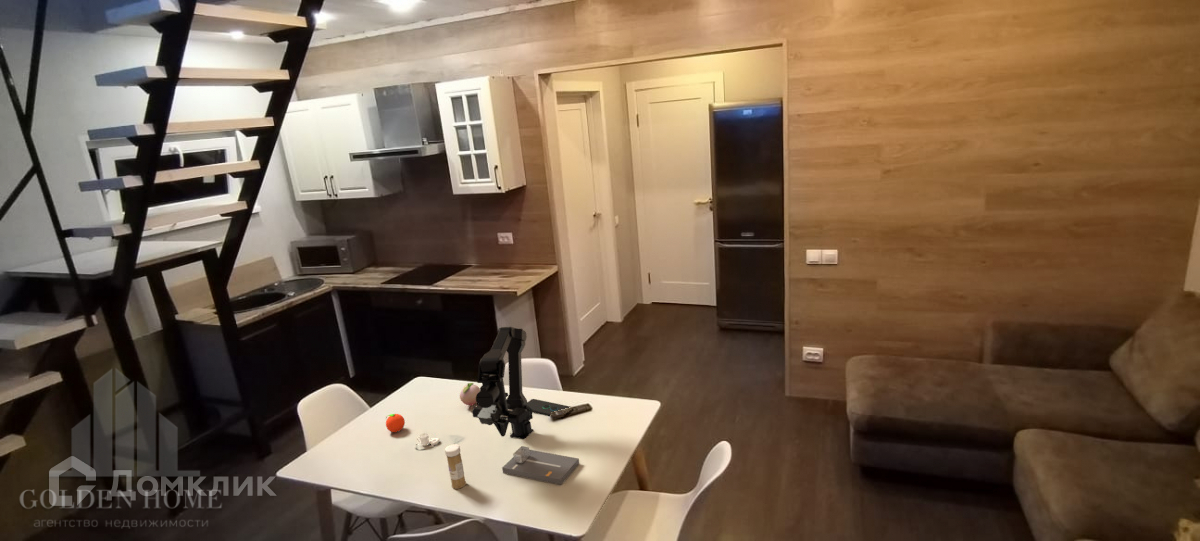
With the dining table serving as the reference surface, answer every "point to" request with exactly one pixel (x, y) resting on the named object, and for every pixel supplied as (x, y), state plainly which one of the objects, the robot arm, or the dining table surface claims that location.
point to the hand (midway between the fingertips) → (503, 435)
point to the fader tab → (521, 454)
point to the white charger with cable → (427, 440)
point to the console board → (543, 467)
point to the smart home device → (544, 407)
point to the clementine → (395, 422)
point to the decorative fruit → (469, 394)
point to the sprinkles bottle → (455, 466)
